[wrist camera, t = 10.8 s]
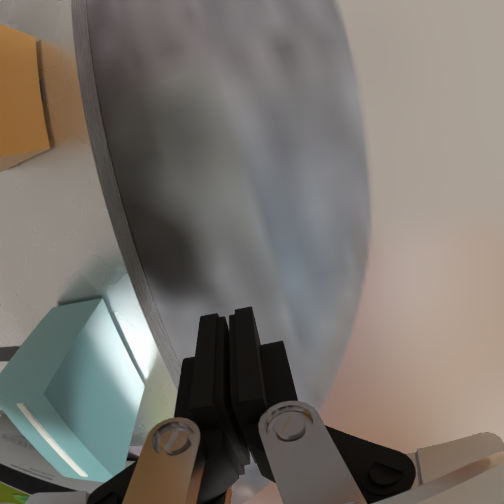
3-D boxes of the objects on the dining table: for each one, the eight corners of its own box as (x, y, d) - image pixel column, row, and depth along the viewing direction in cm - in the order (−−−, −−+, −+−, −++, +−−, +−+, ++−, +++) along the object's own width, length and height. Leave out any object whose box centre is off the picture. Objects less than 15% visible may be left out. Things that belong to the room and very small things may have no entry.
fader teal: (52, 307, 10) (-13, 391, 6) (102, 298, 10) (42, 395, 6) (97, 389, 12) (63, 478, 7) (145, 386, 12) (120, 485, 7)
